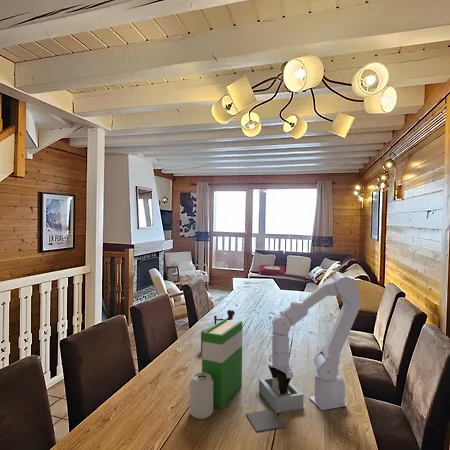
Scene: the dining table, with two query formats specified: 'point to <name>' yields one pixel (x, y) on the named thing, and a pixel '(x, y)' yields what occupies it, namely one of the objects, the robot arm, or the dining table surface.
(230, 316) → the coffee grinder
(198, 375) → the can
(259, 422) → the mat
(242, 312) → the dining table surface
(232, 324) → the hardback book
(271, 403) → the slot box
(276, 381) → the block
